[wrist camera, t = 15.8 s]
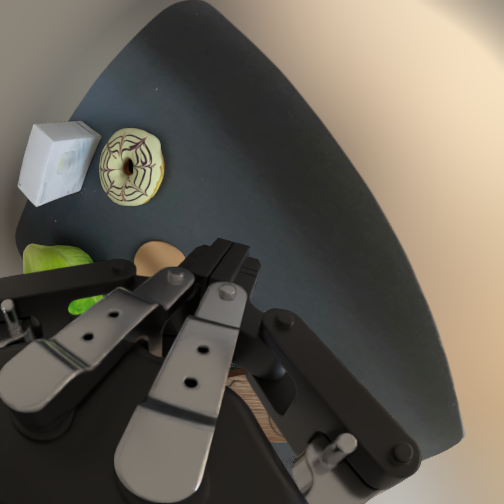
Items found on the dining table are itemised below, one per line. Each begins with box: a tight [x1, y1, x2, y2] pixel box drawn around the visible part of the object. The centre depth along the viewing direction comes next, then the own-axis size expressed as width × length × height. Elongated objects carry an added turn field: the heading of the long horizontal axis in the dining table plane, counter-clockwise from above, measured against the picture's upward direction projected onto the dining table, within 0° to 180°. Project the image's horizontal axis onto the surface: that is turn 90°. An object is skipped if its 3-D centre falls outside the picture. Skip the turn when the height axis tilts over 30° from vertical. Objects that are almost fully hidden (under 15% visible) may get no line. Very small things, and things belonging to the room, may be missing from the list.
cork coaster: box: [134, 241, 185, 277], centre depth 40 cm, size 10×10×1 cm
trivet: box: [226, 368, 287, 442], centre depth 48 cm, size 25×25×2 cm
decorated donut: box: [99, 128, 165, 206], centre depth 33 cm, size 10×11×4 cm
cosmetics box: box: [18, 121, 102, 207], centre depth 31 cm, size 10×6×10 cm, turn 144°
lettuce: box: [23, 244, 103, 315], centre depth 38 cm, size 15×20×14 cm
